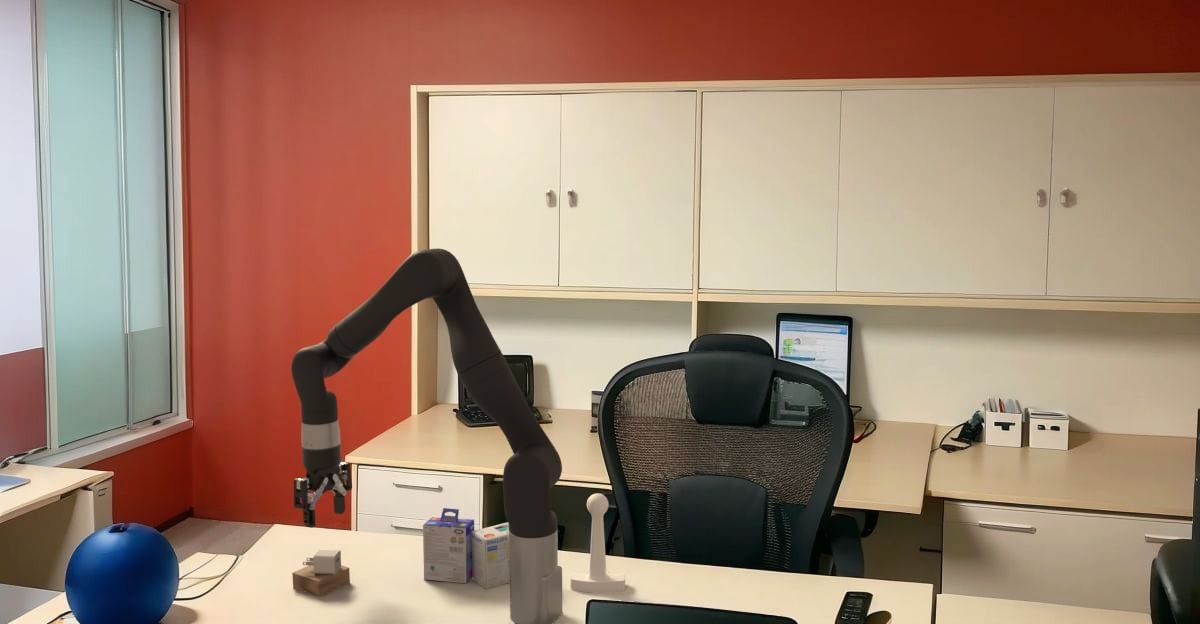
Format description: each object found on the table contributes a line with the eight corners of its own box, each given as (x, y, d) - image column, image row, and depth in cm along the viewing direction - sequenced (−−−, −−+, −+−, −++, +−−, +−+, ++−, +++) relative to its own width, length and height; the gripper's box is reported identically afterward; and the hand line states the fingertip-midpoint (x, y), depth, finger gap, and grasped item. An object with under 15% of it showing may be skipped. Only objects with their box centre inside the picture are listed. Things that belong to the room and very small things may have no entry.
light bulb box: (514, 567, 199) (513, 519, 198) (530, 577, 194) (530, 528, 192) (470, 579, 193) (469, 530, 192) (486, 590, 188) (485, 539, 186)
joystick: (569, 591, 187) (569, 496, 184) (573, 576, 194) (573, 485, 192) (624, 593, 186) (624, 498, 183) (626, 577, 193) (626, 486, 191)
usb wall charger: (334, 575, 187) (334, 556, 187) (301, 574, 187) (300, 555, 187) (341, 567, 191) (340, 549, 191) (308, 566, 191) (308, 548, 191)
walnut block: (350, 585, 191) (349, 567, 191) (319, 600, 185) (318, 581, 184) (323, 577, 196) (323, 559, 195) (293, 591, 189) (292, 572, 188)
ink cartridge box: (476, 573, 196) (475, 508, 194) (467, 584, 190) (466, 517, 189) (433, 569, 198) (431, 505, 196) (423, 580, 192) (421, 514, 191)
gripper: (310, 453, 177) (314, 534, 179) (359, 436, 190) (362, 511, 192) (281, 449, 181) (285, 528, 183) (331, 432, 193) (335, 506, 195)
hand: (325, 519), depth 187 cm, fingers open, 8 cm apart
